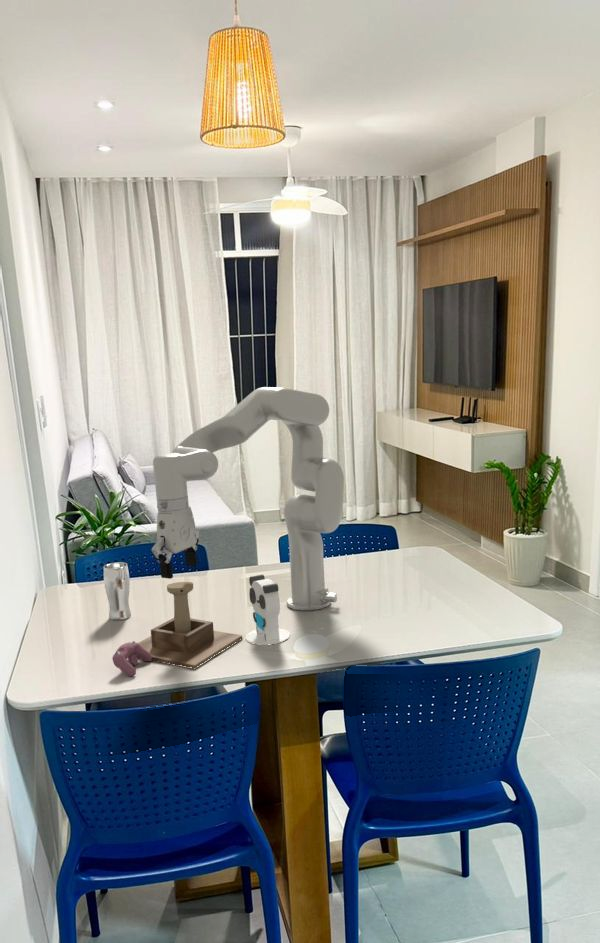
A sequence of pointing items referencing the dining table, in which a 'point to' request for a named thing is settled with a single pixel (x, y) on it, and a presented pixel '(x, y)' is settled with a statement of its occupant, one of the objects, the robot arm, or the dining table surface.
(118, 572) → the beer glass
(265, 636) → the panda figurine
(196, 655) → the holder
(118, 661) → the video game controller
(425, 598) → the dining table surface
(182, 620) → the handle
